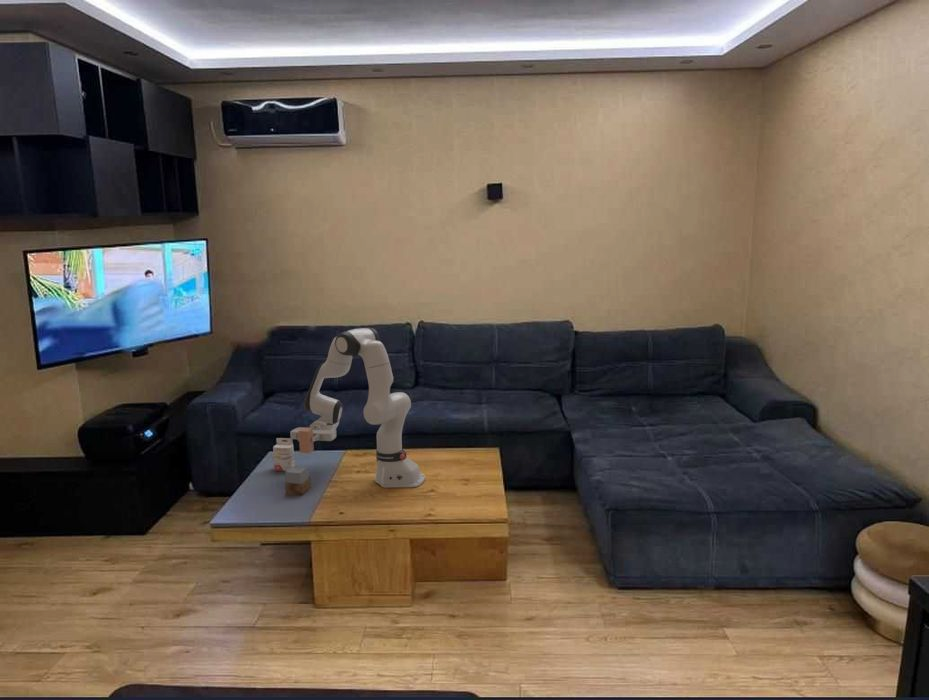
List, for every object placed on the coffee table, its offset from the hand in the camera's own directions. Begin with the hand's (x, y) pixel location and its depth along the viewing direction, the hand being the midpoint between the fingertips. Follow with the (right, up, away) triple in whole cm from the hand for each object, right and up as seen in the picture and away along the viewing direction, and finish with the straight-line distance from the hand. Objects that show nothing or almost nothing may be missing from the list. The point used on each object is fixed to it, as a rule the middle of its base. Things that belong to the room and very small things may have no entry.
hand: (305, 439), depth 296 cm
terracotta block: (0, -5, +2) cm, 6 cm away
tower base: (-2, -22, -6) cm, 22 cm away
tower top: (-2, -17, -7) cm, 18 cm away
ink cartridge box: (-15, -17, +20) cm, 30 cm away
